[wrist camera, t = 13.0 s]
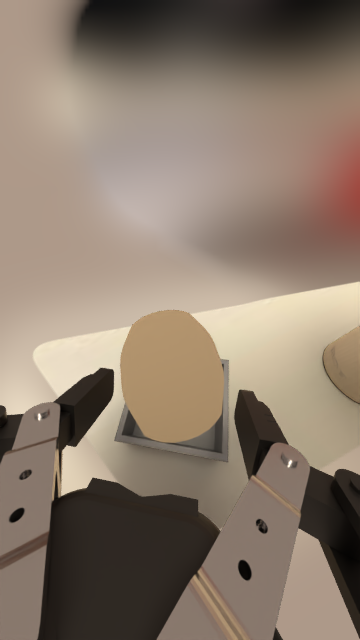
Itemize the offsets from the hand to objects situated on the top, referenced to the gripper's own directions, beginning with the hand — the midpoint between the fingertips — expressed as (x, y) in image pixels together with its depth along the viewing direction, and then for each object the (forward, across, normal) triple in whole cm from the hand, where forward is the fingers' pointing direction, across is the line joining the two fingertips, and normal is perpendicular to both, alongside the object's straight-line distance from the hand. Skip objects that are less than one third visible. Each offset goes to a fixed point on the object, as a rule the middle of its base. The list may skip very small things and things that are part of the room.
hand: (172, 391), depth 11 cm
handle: (+9, 0, +8) cm, 12 cm away
